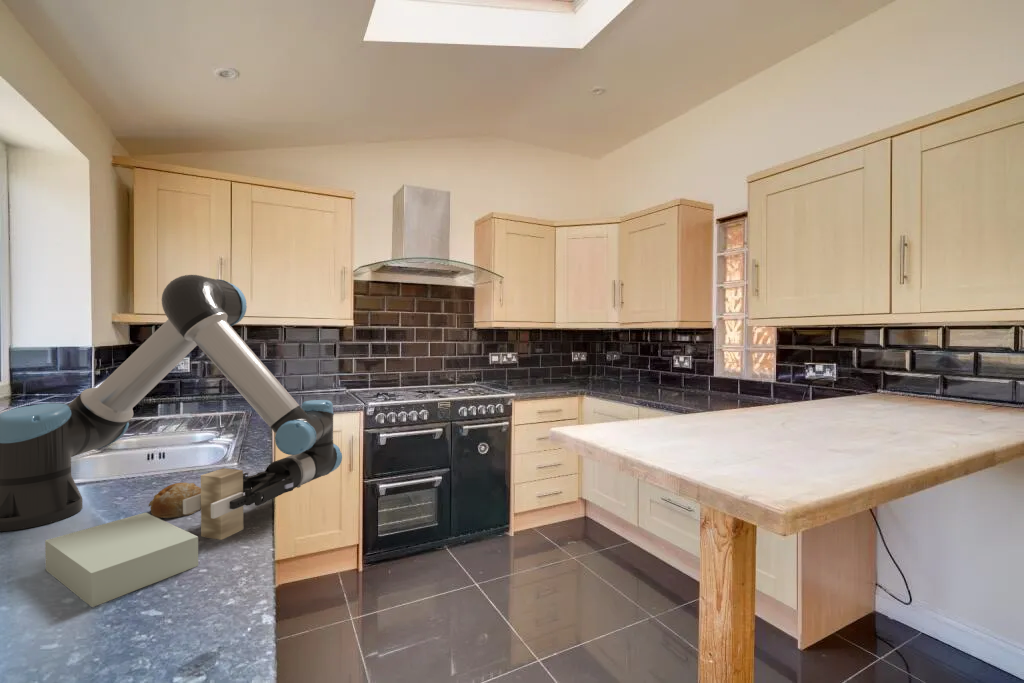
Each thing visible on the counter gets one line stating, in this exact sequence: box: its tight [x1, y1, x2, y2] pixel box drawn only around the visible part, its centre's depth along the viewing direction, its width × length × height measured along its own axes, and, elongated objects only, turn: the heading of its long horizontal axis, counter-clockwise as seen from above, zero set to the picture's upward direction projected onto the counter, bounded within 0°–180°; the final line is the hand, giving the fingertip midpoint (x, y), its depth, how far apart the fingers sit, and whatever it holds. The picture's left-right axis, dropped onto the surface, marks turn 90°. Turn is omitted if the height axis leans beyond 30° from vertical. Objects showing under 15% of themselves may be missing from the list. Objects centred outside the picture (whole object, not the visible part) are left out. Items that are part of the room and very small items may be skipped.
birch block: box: [200, 467, 244, 541], centre depth 92 cm, size 5×5×12 cm
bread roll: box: [148, 482, 201, 519], centre depth 103 cm, size 10×10×8 cm
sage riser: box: [44, 512, 199, 608], centre depth 78 cm, size 20×14×5 cm
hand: (198, 509), depth 87 cm, fingers open, 6 cm apart
